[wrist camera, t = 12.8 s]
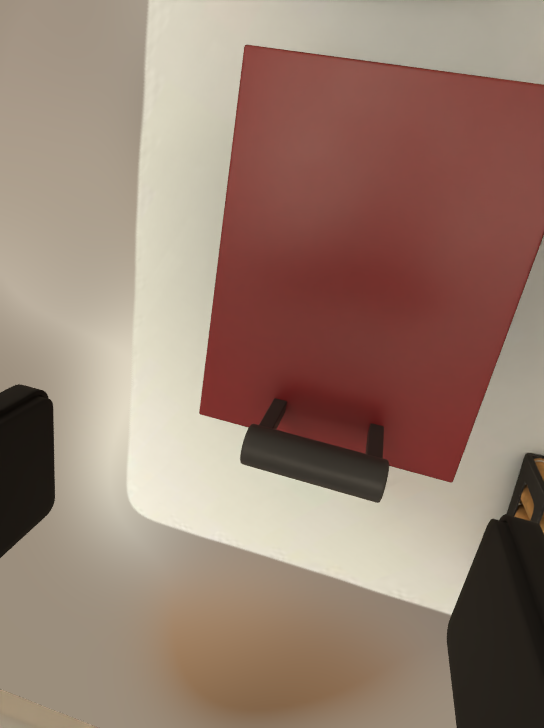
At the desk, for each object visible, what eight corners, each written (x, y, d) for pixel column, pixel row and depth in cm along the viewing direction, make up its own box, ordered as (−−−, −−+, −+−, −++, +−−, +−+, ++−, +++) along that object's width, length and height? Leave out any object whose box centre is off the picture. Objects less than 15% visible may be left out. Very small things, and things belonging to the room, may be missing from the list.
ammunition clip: (526, 452, 33) (591, 579, 22) (555, 457, 33) (635, 589, 22) (488, 572, 37) (528, 731, 26) (513, 577, 37) (565, 742, 26)
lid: (450, 475, 24) (467, 558, 19) (203, 408, 27) (153, 464, 21) (588, 95, 18) (675, 50, 12) (249, 49, 20) (194, -7, 15)
